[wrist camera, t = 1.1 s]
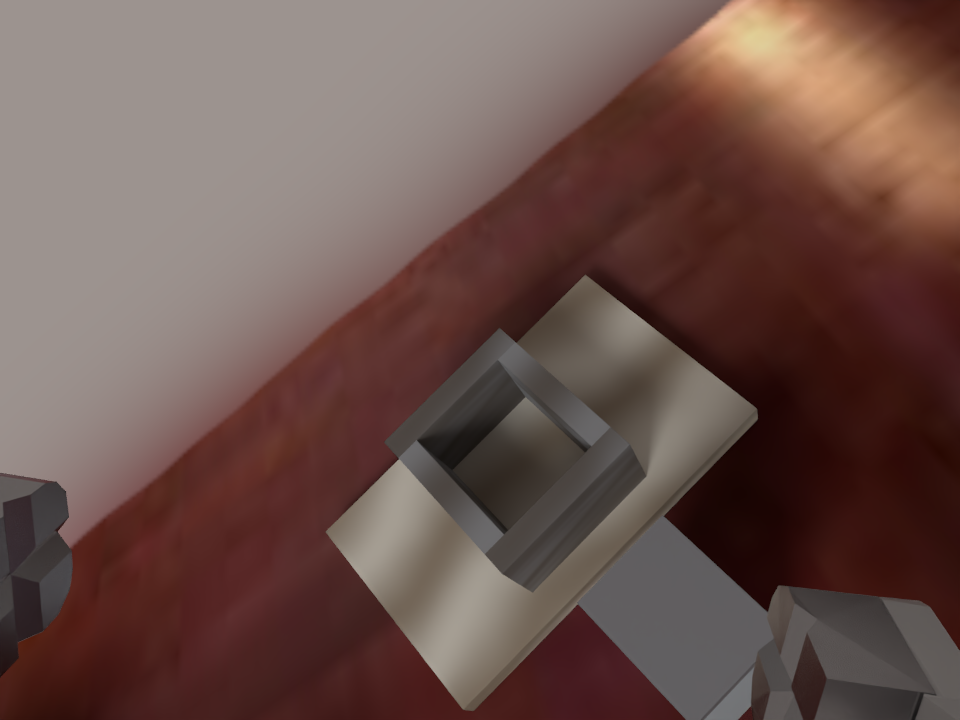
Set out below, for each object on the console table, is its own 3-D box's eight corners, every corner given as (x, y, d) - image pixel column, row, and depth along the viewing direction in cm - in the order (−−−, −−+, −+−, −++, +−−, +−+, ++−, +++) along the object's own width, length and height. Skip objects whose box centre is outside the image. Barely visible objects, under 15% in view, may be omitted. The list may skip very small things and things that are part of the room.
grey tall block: (786, 668, 37) (785, 629, 25) (723, 734, 37) (693, 727, 25) (700, 586, 40) (662, 515, 28) (641, 647, 39) (576, 602, 27)
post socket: (757, 419, 42) (753, 368, 36) (473, 710, 41) (423, 704, 35) (590, 287, 48) (564, 226, 42) (338, 537, 47) (277, 509, 41)
